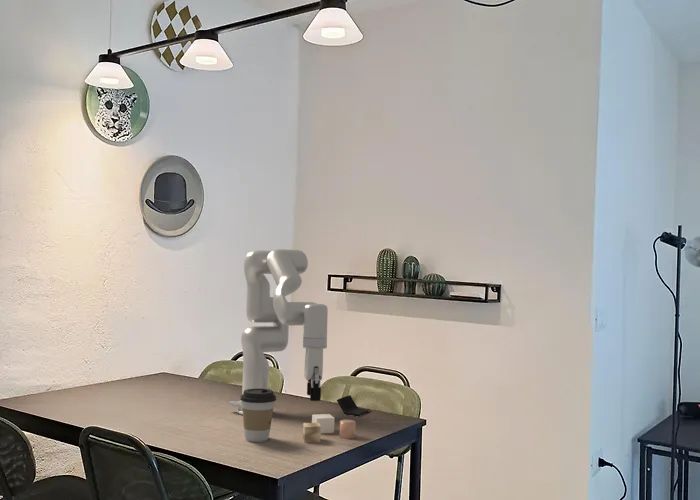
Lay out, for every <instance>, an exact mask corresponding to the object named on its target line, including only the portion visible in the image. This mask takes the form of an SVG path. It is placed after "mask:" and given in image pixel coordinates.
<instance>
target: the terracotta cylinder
mask: <svg viewBox="0 0 700 500" xmlns="http://www.w3.org/2000/svg"><path fill="white" fill-rule="evenodd" d="M339 438H341V439H344V440H351V439H355V438H356V421H355V420H352V419H342V420H340V421H339Z"/></svg>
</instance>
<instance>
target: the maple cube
mask: <svg viewBox="0 0 700 500" xmlns="http://www.w3.org/2000/svg"><path fill="white" fill-rule="evenodd" d="M321 434H322V433H321V426H320V424H319V423H312V422H303V423H302V439H303V442H304V443H308V444H309V443H321V438H322V437H321V436H322V435H321Z"/></svg>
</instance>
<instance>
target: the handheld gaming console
mask: <svg viewBox="0 0 700 500" xmlns="http://www.w3.org/2000/svg"><path fill="white" fill-rule="evenodd" d="M336 402H337V403H338V405H339V408H340V410H341V411H342V412H343V415H344V414H346V415H345V416H349V415H354V416H353V417H356V416H359V417H361V416H363V415H362V414H364V413H366V412H368V411H369V410H370V408H369V409H367V408H363V407H362V408H361V407H359V406H357V404H356V402H355V400H354V399H353V397H352V396H351V395H349V394H348V395H346V396H344V397H339V398H338V399H337V400H336ZM368 413H369V412H368ZM366 414H367V413H366ZM360 415H361V416H360ZM364 415H365V414H364Z"/></svg>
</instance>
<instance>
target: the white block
mask: <svg viewBox="0 0 700 500" xmlns="http://www.w3.org/2000/svg"><path fill="white" fill-rule="evenodd" d="M311 423H319V424H320V426H321V434H333V433H335V417H334V416H333V415H331V414H330V413H320V414H311Z"/></svg>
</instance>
